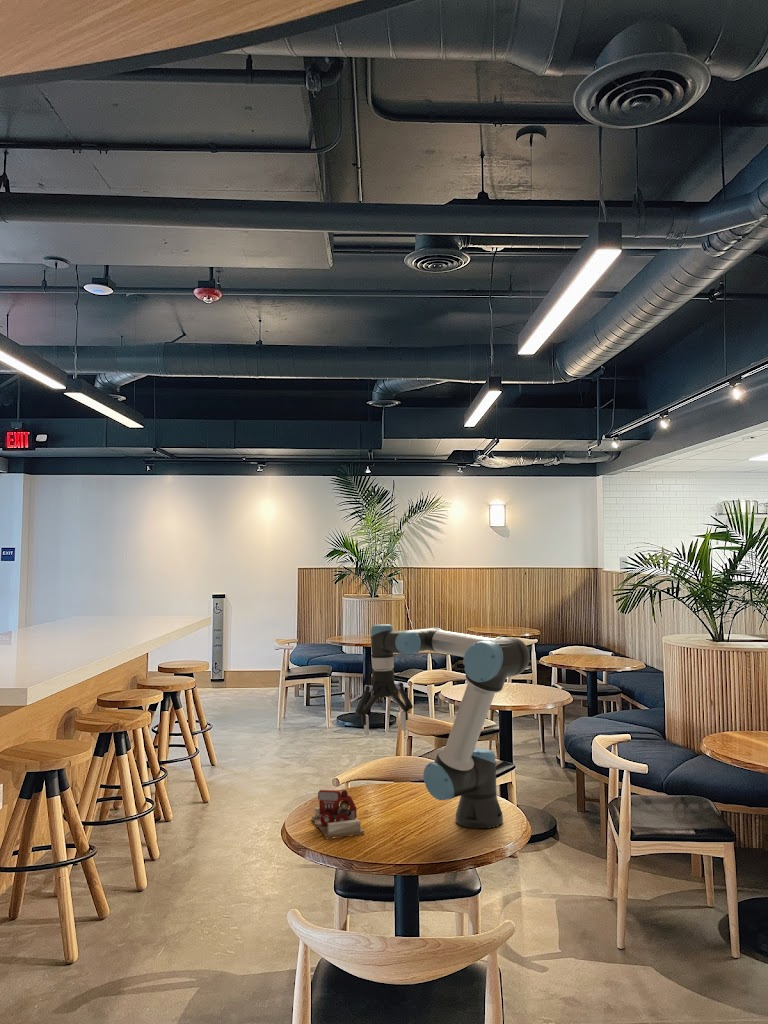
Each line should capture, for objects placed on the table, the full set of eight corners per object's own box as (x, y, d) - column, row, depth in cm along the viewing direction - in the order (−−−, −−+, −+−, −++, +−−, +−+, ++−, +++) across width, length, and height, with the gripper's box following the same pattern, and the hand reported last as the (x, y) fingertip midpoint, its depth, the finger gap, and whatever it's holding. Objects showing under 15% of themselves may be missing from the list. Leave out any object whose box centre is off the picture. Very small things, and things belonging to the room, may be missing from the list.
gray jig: (364, 834, 238) (363, 821, 238) (326, 839, 234) (326, 826, 234) (346, 815, 256) (346, 802, 257) (311, 819, 253) (311, 807, 253)
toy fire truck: (353, 827, 241) (353, 794, 241) (315, 826, 243) (315, 792, 244) (358, 820, 248) (357, 787, 248) (321, 819, 250) (320, 786, 250)
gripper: (411, 665, 272) (414, 726, 270) (345, 671, 262) (347, 734, 260) (420, 667, 265) (423, 730, 263) (352, 673, 255) (354, 738, 253)
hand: (385, 732), depth 262 cm, fingers open, 13 cm apart
